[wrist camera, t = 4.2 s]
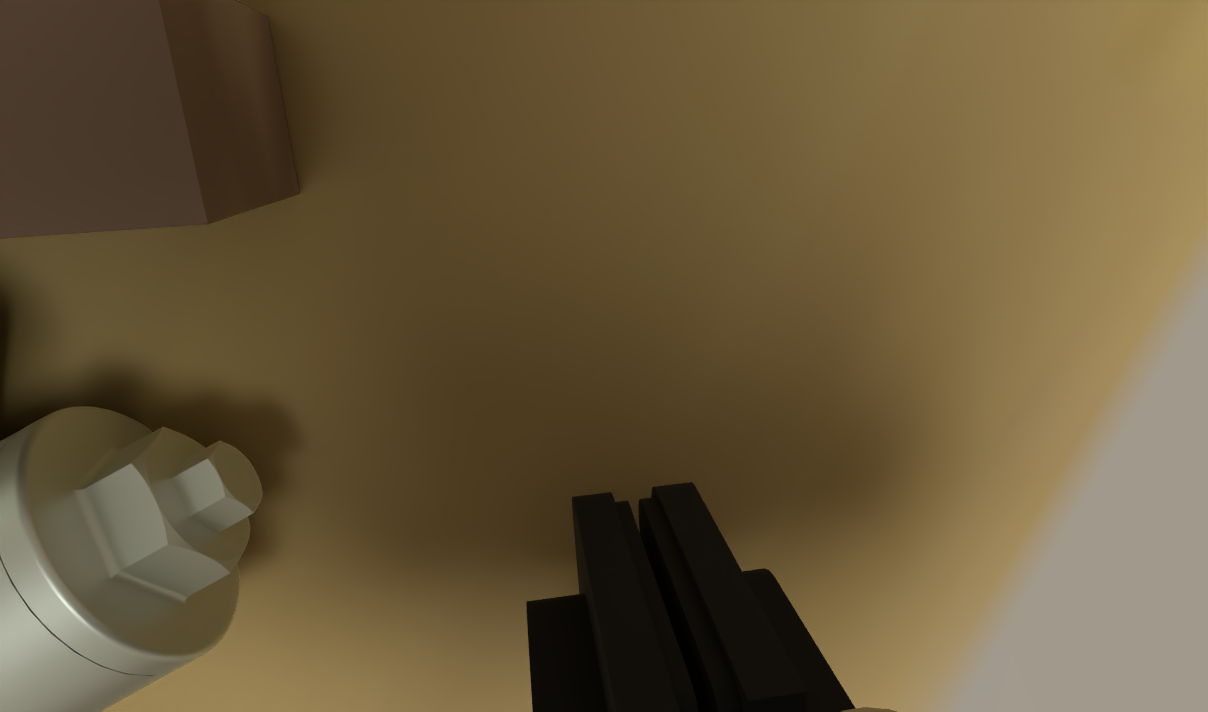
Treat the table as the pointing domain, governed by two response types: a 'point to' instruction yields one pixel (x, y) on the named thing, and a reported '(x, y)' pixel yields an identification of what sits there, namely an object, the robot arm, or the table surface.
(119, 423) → the pipe fitting
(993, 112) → the table surface
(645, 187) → the table surface
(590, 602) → the robot arm
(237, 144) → the bench jig
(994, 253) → the table surface
